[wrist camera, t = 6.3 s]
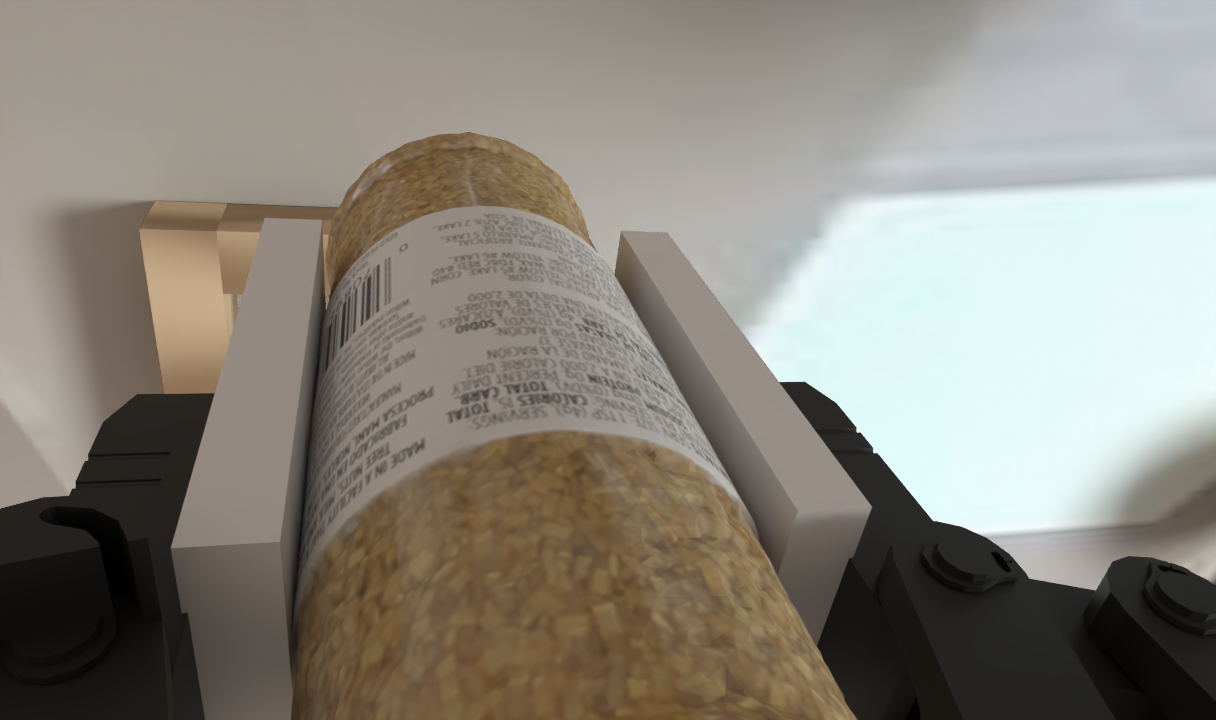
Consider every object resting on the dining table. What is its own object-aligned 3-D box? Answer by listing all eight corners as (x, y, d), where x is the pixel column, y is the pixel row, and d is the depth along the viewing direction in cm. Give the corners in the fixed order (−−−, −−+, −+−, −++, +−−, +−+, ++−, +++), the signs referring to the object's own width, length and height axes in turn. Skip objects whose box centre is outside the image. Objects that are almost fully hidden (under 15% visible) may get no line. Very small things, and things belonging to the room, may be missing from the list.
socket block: (155, 200, 29) (138, 228, 27) (480, 213, 32) (487, 239, 30) (192, 459, 34) (180, 499, 32) (465, 450, 37) (471, 485, 35)
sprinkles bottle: (474, 402, 16) (689, 1575, 5) (267, 267, 14) (-112, 1855, 3) (638, 235, 15) (1328, 1257, 4) (445, 59, 13) (867, 1304, 2)
